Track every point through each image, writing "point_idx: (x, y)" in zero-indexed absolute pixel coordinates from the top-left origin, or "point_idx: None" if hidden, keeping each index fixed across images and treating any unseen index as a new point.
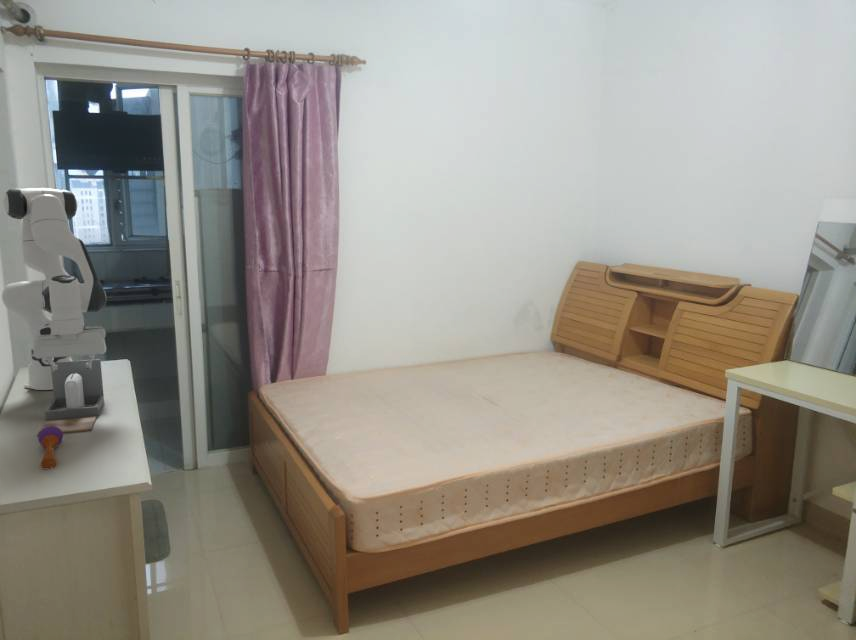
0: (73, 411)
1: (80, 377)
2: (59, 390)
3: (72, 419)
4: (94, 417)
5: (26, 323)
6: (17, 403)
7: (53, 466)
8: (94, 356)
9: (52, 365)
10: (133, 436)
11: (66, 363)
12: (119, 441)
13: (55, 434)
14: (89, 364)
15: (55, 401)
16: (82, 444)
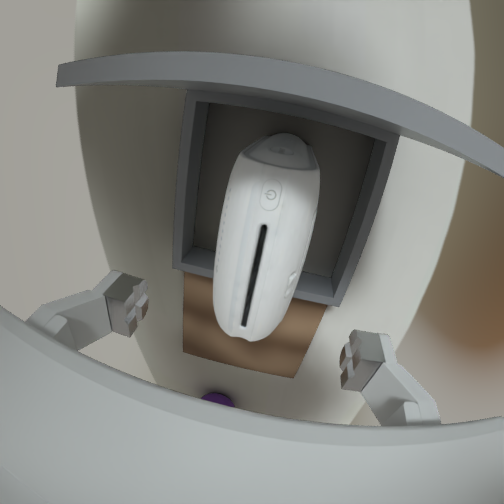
0: None
1: (305, 252)
2: (199, 89)
3: None
4: (319, 314)
5: None
6: (95, 14)
7: None
8: (429, 413)
9: (98, 332)
10: (351, 416)
11: (184, 81)
12: (324, 422)
13: None
14: (366, 385)
15: (194, 126)
16: (268, 411)
